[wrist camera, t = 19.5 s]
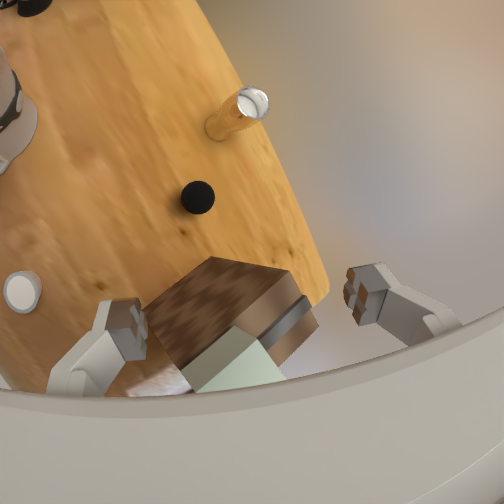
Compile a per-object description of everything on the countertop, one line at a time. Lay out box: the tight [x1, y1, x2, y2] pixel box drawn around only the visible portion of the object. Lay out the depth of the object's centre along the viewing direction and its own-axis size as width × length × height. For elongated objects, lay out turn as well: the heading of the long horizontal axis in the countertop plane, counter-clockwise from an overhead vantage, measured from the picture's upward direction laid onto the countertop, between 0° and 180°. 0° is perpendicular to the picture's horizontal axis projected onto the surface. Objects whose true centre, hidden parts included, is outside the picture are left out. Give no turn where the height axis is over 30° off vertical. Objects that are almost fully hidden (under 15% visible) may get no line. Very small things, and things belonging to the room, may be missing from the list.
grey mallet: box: [180, 326, 287, 393], centre depth 27 cm, size 26×10×5 cm, turn 124°
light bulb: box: [181, 181, 215, 214], centre depth 52 cm, size 6×6×10 cm
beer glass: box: [205, 86, 270, 141], centre depth 52 cm, size 7×7×15 cm
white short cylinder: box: [4, 270, 42, 314], centre depth 39 cm, size 7×7×7 cm
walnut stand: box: [141, 256, 319, 371], centre depth 46 cm, size 18×10×27 cm, turn 124°
